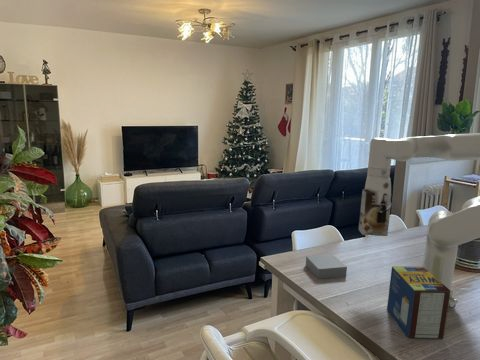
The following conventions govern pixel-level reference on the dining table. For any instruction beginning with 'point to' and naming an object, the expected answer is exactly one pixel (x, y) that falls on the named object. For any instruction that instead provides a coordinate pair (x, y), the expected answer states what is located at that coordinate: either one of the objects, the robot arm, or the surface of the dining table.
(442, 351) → the dining table surface
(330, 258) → the pedestal
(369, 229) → the coffee box
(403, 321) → the protein box
